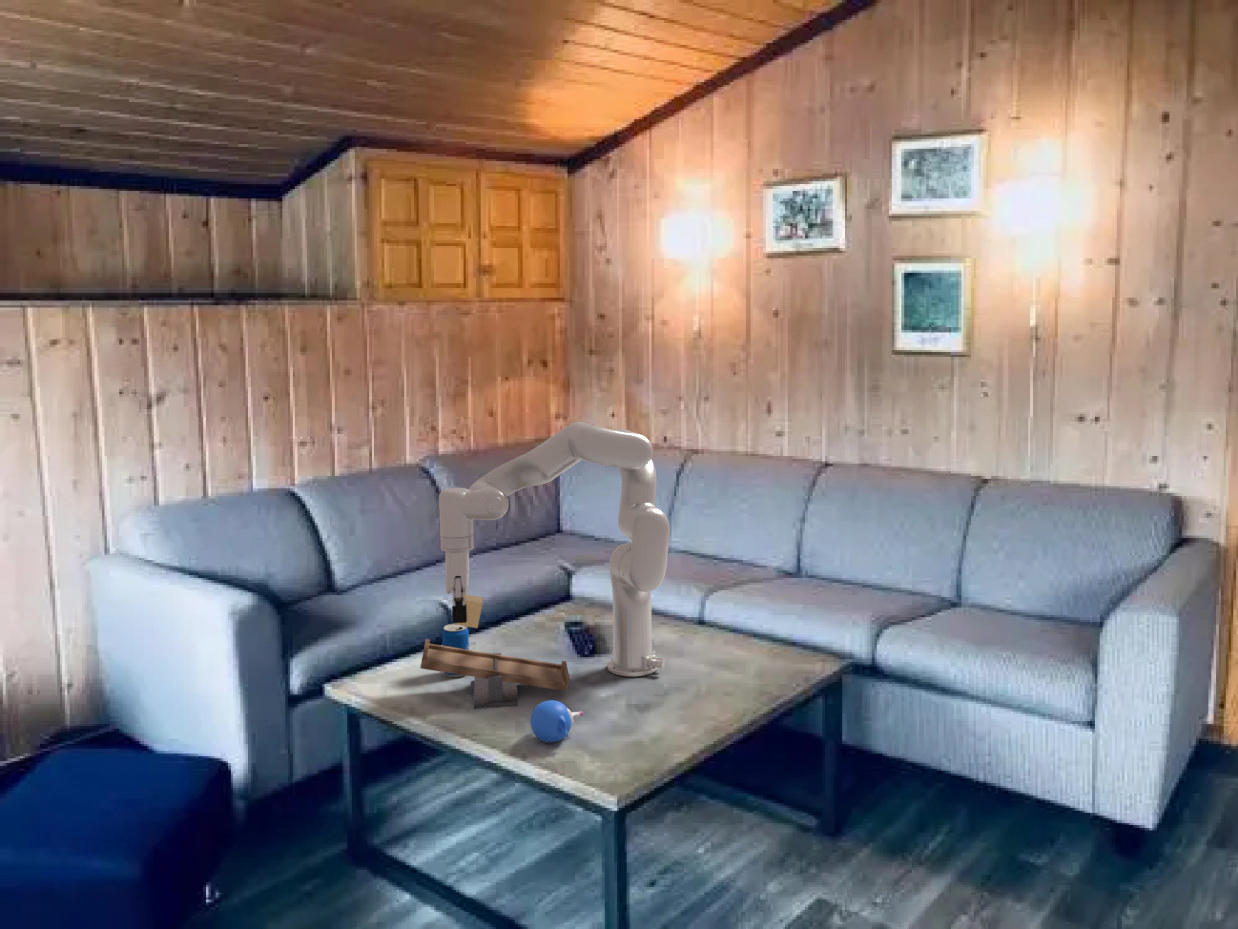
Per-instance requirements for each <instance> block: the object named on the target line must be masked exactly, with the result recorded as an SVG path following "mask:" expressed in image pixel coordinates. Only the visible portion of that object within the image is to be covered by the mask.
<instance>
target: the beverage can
mask: <svg viewBox="0 0 1238 929" xmlns="http://www.w3.org/2000/svg"><path fill="white" fill-rule="evenodd" d="M469 631H470V630H469V629H468V626H461V625H456V623H450V624H446V625H445V626H443V630H442V632H441V634H442V636H441V637H442V640H441V641H442V646H448V647H454V648H460V649H466V650H470V634H469V633H470V632H469ZM443 673H444V675H447V677H450V678H460V677H465V676H466V675H460V674H453V673H447V672H443Z"/></svg>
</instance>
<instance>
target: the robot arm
mask: <svg viewBox="0 0 1238 929" xmlns="http://www.w3.org/2000/svg"><path fill="white" fill-rule="evenodd" d="M653 454H654V449H653V445H652V443H651V441H650V440H649V439H648V438H647V437H646V436H644V435H642V434H641V433H637V432H633V431H631V430H629V429H624V428H615V429H609V428H604V427H601V426H597V425H593V424H590V423H587V422H583V421H576V422H572V423H570V424H569V425H567V426H565V427H564V428H562V429H561V430H559V431H558V432H556V433H555V434H554V435H552V436H551V437H550V438H548V439H546V440H545V441H543V442H542V443H540V444H539V445H538V446H536V447H534V448H533V449H531V450H530V451H528V452H526V453H524V454H521V455H519V456H517V457H516V458H512V459H511V460H508V461H507V462H505V463H503V464H501V465H499V466H497V467H495V468H494V469H492V470H490V471H489V472H488V473H486V474H485V475H483V476H482V477H480V478H479V479H477V480H476V481H475V482H473V483H472V484H471V486H470V487H469V488H465V487H449V488H445V489H443V490H441V491H440V492H439V495H438V505H439V509H438V510H439V533H440V535H439V536H440V549H441V551H442V552H445V558H444V559H445V561H444V562H445V564H444V565H445V566H444V567H445V588H446V589H445V590H446V591H445V593H446V594H447V595H450V594H452V605H451V616H452V624H456V623H466V622H467V611H466V605H465V594H467V593H468V592H469V591H468V590H469V581H470V551H471V550H474V549H475V540H474V539H475V538H474V536H475V535H474V532H475V531H474V520H480V521H481V520H482V521H494V520H498V519H501V518H502V517H504V516H505V515H506V513H507V512H508V510H509V508H510V507H509V505H510V504H509V498H508V496H510V495H511V494H513V493H515V492H517V491H519V490H520V491H521V490H522V489H525V488H528V487H534V486H541V485H544V484H547V483H550V482H552V481H553V480H555V479H556V478H557V477H559V476H560V475H562V474H563V473H564V472H566V471H567V470H570V469H571V468H572V467H574V466H575V465H577V464H578V463H579V462H581V461H584V462H586V463H591V464H595V465H600V466H605V467H614V468H618V471H619V473H620V477H621V490H620V492H621V493H620V500H619V511H618V517H617V518H618V519H617V522H618V523H617V526H618V529H619V531H620V532H621V534H622V535H624V536H625V537H627V538H628V539H630V541H631V542H626V543H622V544H620V545H618V546H617V547H615V549H614V550H613V551H612V553H611V556H610V558H609V563H608V564H609V566H608V567H609V569H608V570H609V575H610V576H609V577H610V581H611V582H610V583H611V589H612V590H611V591H612V630H613V632H612V633H613V634H612V636H613V639H612V640H613V642H612V643H613V649H612V650H613V659H611V660H609V661H608V662H607V670H608V671H609V672H610V673H612V674H614V675H616V676H617V675H618V676H621V677H644V676H648V675H651V674H654V673H655V672H657V670H658V669H664V668H665V667H666V658H665V657H662V656H661V657H660V656H657V655H656V654H657V653H656V649H652V648H653V647H652V646H653V644H652V641H653V640H652V638H653V637H652V592H651V591H655V590H656V589H658V588H659V587H660V585H661V584H662V583H663V581H664V579H665V575H666V570H667V564H668V556H669V546H670V537H671V535H670V534H671V528H670V522H669V519H668V517H667V516H666V514H665V512H663V511H662V510H661V509H660V508H658V507H656V500H657V499H656V498H657V479H658V478H657V472H656V466H655V463H654V461H653V459H652V458H653ZM461 595H463V598H462V597H461Z"/></svg>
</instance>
